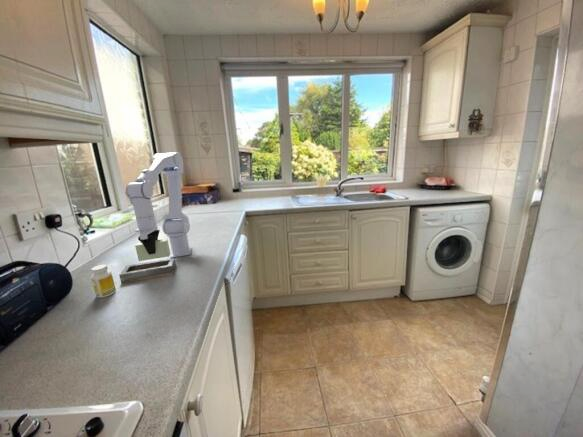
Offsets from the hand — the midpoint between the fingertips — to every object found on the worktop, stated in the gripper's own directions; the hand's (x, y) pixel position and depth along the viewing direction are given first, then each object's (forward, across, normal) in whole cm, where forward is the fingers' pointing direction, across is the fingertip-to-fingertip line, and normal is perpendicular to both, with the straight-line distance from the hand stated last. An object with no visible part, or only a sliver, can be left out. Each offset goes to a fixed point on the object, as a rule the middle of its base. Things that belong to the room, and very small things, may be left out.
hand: (153, 252), depth 93 cm
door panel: (+2, 0, 0) cm, 2 cm away
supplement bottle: (+9, +9, -14) cm, 19 cm away
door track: (+9, -1, -3) cm, 9 cm away
